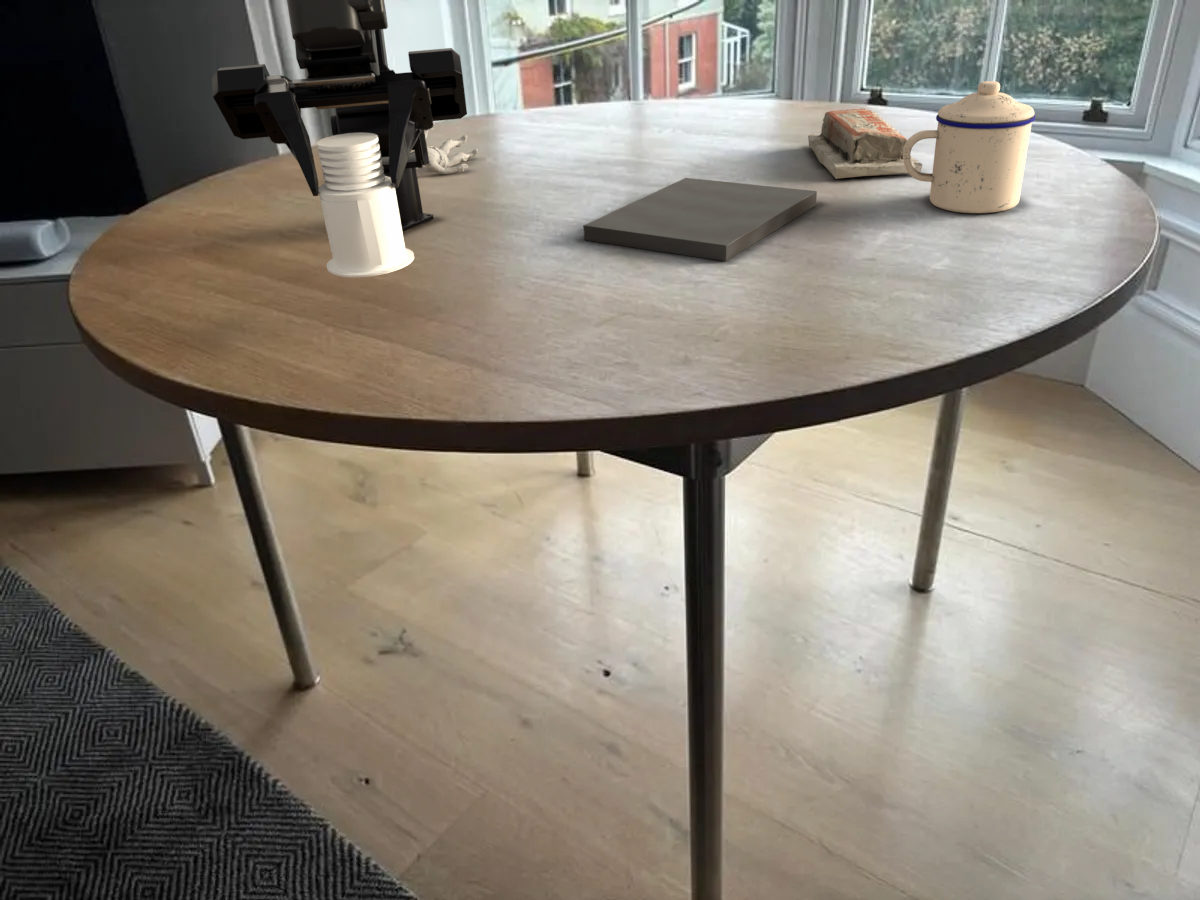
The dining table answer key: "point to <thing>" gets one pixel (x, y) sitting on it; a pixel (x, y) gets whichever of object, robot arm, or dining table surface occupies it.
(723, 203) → the slate board
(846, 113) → the packaged product
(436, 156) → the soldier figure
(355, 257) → the downlight
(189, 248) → the dining table surface
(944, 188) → the teacup with lid
